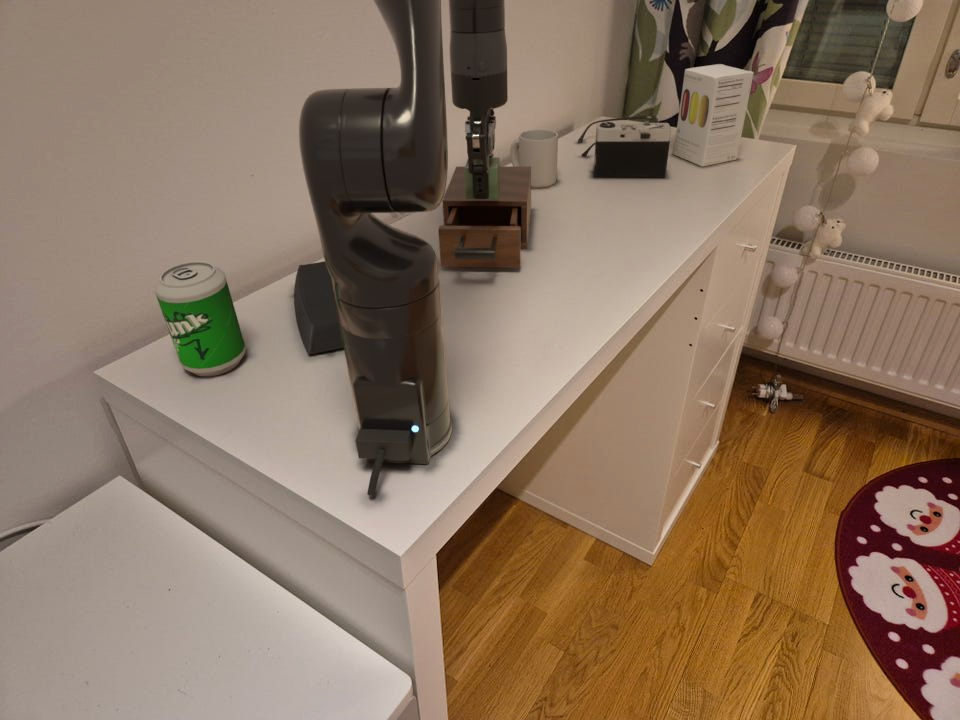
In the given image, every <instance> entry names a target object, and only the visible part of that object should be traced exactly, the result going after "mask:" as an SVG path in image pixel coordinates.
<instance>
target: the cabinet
mask: <svg viewBox="0 0 960 720" xmlns="http://www.w3.org/2000/svg"><path fill="white" fill-rule="evenodd" d="M441 204H442V216H443V226H447V221H448V218H449V215H450V213H451V210H452V207H453V206H520V227H521V250H527V249H528V243H529V242H528V241H529V233H530V222H531V214H532V213H531V212H532V188H531V166H515V167H513V166H500V191H499V195H498V199H466V186H465V166H455V169H454V171H453V173H452V176H451V179H450V181H449V184H448V186H447V188H446V190H445V193H444V196H443V199H442V201H441Z"/></svg>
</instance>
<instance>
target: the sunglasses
mask: <svg viewBox="0 0 960 720" xmlns="http://www.w3.org/2000/svg"><path fill="white" fill-rule="evenodd" d="M630 120H632V121H633V120H649V123H659V119H658V117H657V116H655V115H654V114H653V115H652V114H651V115H650V114H647V115H637V116H636V115H635V116H626V117H615V118H606V119H600V120H596V121H594V122H592V123H590V124H589V125H587V127H585V129H584V131H583V132H582V134H581V135H580V137H579V138H578V139H577V143H579V144H581V143H583V141H584V138H585V137H586V133H587V132H588V130H589V128H591V127H592V126H593V125H595V124H598V123H603V122H604V123H605V122H615V121H616V122H617V121H630ZM593 147H595V142H593V143H592V144H591V145H590V146H588V148H587V149H586V150H585V151H584V152H583V153H581V155H580V156H581V157H587V156H588V155H589V152H590V151H591V149H592V148H593Z"/></svg>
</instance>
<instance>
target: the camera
mask: <svg viewBox="0 0 960 720" xmlns="http://www.w3.org/2000/svg"><path fill="white" fill-rule="evenodd" d="M595 129H596V130H595V142H594V143H595V145H594V159H593V160H594V161H593V178H595V179H598V178H599V179H601V178H602V179H625V178H626V179H665V178H666V175H667V167H668V166H667V165H668V159H669V153H670V144H671V141H670V137H671V132H672V128H671V126H670V123H668V122H658V123H650V120H645V121H644V122H613V121H606V122H599V123H596V128H595Z"/></svg>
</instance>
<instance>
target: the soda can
mask: <svg viewBox="0 0 960 720" xmlns="http://www.w3.org/2000/svg"><path fill="white" fill-rule="evenodd" d="M153 288H154V293H155V297H156V299H157V302H158V306H159V308H160V310H161V314H162V316H163V319H164V321H165V325H166V327H167V330H168V333H169V335H170V338H171V341H172V344H173V347H174V350H175V353H176V355H177V358H178V361H179V363H180V366H181V367H182V368H183V369H184V370H185V371H188V372H190V373H192V374H194V375H197V376H199V377H215V376H220V375H222V374H225V373H228V372H230V371H231V370H233V369H234V368H236V367H237V366H238V365H239V364H240V363H241V360H242V358H243V357H244V356H245V353H246V352H247V346H246V344H245V340H244V337H243V332H242V329H241V327H240V321H239V318H238V316H237V312H236V309H235V305H234V302H233V297H232V294H231V290H230V287H229V284H228V280H227V276H226V273H225V272H224V270H222V269H220V267H216V265H214V264H212V263H211V262H208V261H201V260H200V261H199V260H198V261H197V260H196V261H195V260H194V261H188V262H187V261H186V262H182V263H178V264H176V265H173V266H171V267H169V268H167V269H165V270H164V271H163V272H161V273H160V275H159V279H158V280H157V281H156V282H155V285H154V287H153Z"/></svg>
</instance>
